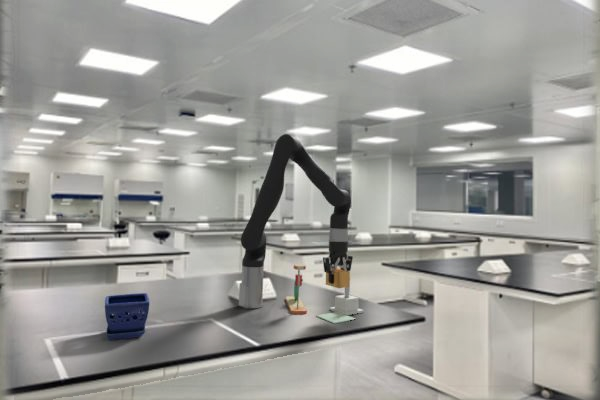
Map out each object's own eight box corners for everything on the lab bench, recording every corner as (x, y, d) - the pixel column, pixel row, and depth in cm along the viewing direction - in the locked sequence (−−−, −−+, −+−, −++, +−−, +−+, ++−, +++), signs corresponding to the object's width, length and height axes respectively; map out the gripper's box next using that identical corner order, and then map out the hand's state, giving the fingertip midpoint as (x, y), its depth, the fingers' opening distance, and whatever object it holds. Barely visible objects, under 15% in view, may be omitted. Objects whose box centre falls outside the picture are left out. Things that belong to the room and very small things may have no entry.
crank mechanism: (307, 314, 162) (308, 266, 162) (290, 314, 161) (292, 266, 161) (299, 299, 187) (300, 258, 187) (285, 299, 186) (286, 257, 186)
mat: (334, 323, 150) (334, 322, 150) (316, 316, 159) (316, 315, 159) (355, 319, 157) (355, 318, 157) (337, 312, 166) (337, 311, 166)
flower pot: (102, 343, 122) (103, 304, 123) (104, 330, 135) (105, 294, 135) (148, 338, 128) (150, 301, 128) (146, 326, 140) (147, 292, 140)
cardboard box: (338, 288, 153) (339, 272, 153) (325, 284, 160) (326, 269, 160) (349, 286, 156) (349, 271, 156) (335, 283, 163) (336, 268, 163)
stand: (345, 315, 162) (346, 279, 162) (329, 309, 170) (330, 275, 170) (363, 312, 167) (364, 277, 167) (347, 306, 176) (348, 273, 176)
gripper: (345, 238, 165) (344, 279, 165) (318, 239, 157) (317, 282, 157) (358, 240, 159) (357, 282, 159) (330, 241, 151) (329, 286, 151)
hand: (337, 282), depth 158 cm, fingers closed on cardboard box, 5 cm apart
